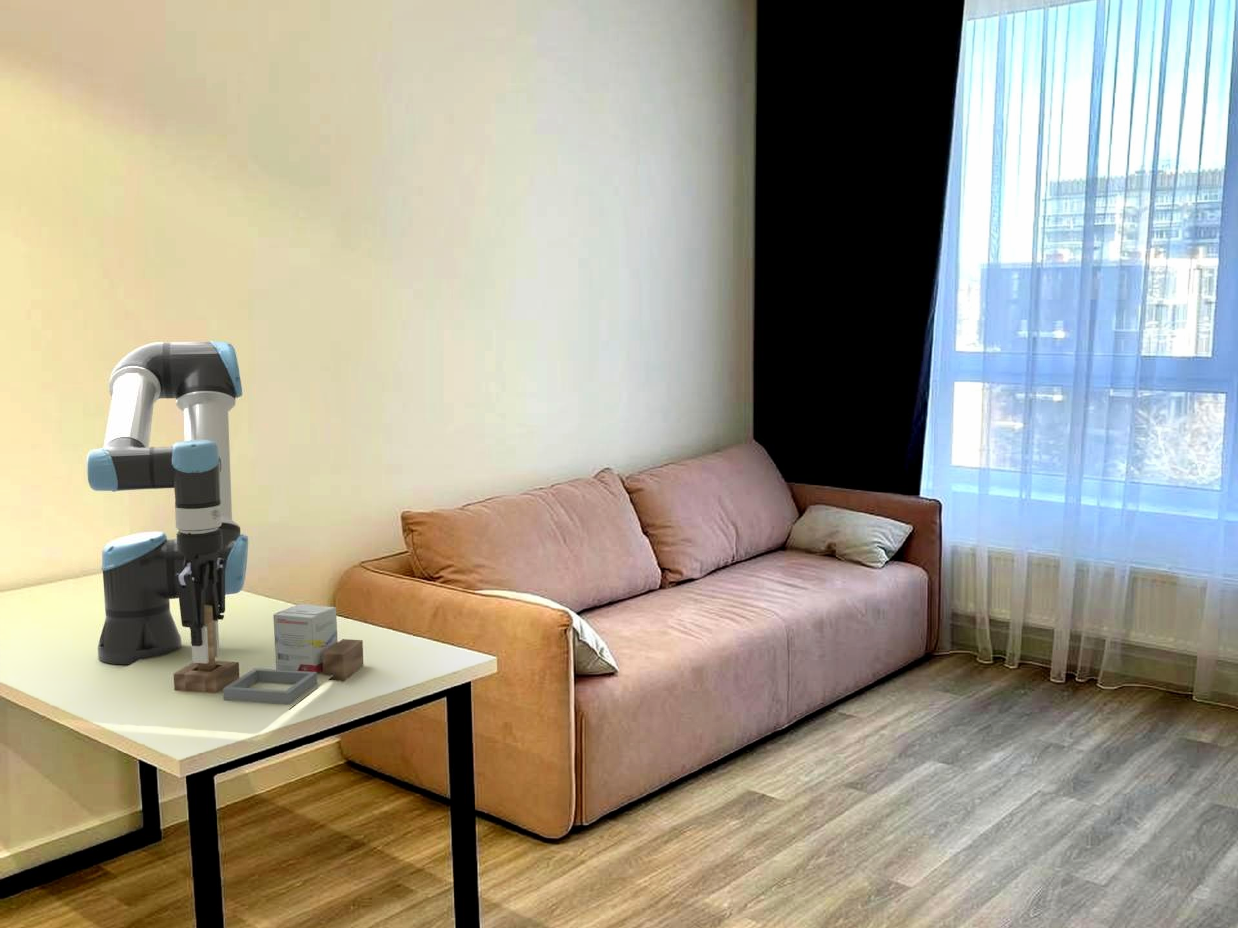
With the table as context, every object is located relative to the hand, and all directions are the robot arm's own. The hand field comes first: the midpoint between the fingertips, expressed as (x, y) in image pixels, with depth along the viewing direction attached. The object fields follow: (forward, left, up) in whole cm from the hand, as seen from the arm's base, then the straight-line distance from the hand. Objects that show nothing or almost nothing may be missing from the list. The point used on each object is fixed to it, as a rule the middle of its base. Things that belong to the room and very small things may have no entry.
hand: (206, 658), depth 204 cm
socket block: (0, 0, -6) cm, 6 cm away
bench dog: (+20, +13, -6) cm, 24 cm away
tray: (+13, -2, -6) cm, 14 cm away
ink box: (+13, +13, -6) cm, 19 cm away
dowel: (0, 0, -5) cm, 5 cm away
